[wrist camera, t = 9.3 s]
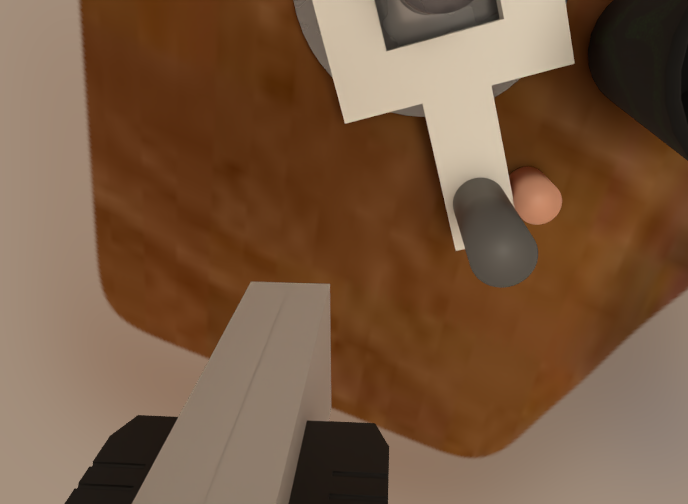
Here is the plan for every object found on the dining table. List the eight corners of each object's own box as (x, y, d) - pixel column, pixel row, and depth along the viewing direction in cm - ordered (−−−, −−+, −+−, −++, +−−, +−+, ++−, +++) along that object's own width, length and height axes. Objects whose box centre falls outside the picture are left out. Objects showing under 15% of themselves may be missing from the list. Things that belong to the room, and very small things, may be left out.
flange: (284, -117, 27) (239, -172, 19) (528, -197, 25) (585, -290, 18) (383, 258, 32) (379, 334, 24) (590, 211, 31) (656, 276, 23)
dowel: (496, 186, 32) (506, 202, 29) (528, 157, 31) (541, 171, 28) (523, 214, 32) (535, 233, 29) (555, 187, 32) (571, 203, 29)
